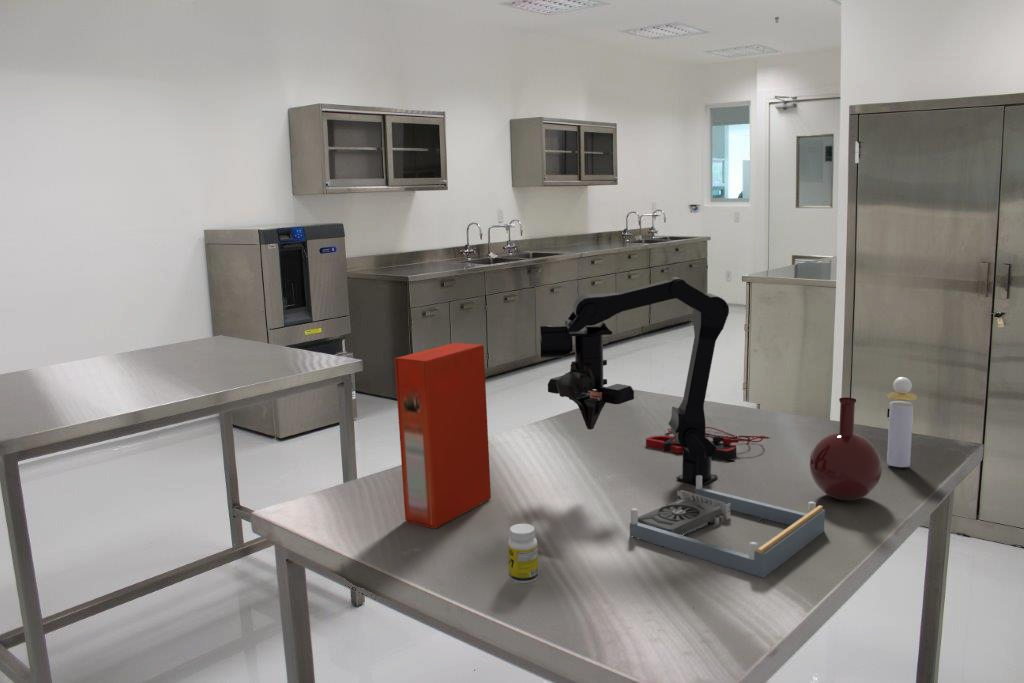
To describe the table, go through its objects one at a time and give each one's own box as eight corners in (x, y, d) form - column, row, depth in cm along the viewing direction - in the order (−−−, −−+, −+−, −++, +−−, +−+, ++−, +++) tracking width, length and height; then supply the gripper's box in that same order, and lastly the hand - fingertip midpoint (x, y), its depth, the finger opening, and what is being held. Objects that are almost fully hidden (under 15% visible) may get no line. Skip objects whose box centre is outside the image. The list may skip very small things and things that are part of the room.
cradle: (697, 498, 163) (698, 474, 162) (824, 531, 145) (825, 504, 144) (629, 536, 146) (629, 509, 145) (763, 578, 129) (764, 548, 128)
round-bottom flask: (847, 516, 152) (852, 411, 148) (793, 494, 163) (796, 397, 160) (895, 502, 158) (900, 401, 154) (840, 482, 169) (843, 388, 166)
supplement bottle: (508, 571, 134) (506, 523, 132) (536, 569, 134) (535, 521, 133) (510, 585, 129) (508, 535, 128) (540, 583, 129) (538, 533, 128)
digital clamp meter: (740, 448, 181) (639, 432, 196) (740, 467, 182) (639, 450, 196) (775, 422, 200) (681, 409, 214) (775, 440, 200) (681, 426, 215)
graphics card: (680, 487, 161) (731, 501, 152) (681, 505, 162) (732, 521, 152) (622, 510, 151) (673, 527, 141) (623, 529, 151) (673, 548, 142)
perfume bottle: (917, 471, 174) (922, 380, 170) (889, 471, 174) (893, 380, 171) (907, 462, 179) (911, 374, 176) (879, 462, 180) (884, 374, 177)
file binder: (404, 520, 157) (394, 357, 151) (459, 492, 170) (452, 342, 165) (436, 529, 152) (427, 361, 146) (491, 499, 166) (484, 345, 160)
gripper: (529, 357, 169) (531, 430, 172) (601, 368, 156) (602, 446, 159) (563, 349, 177) (565, 418, 180) (635, 358, 164) (635, 433, 167)
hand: (590, 429), depth 171 cm, fingers closed
